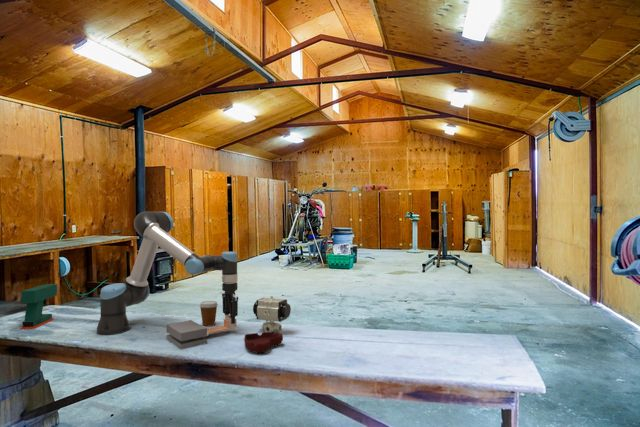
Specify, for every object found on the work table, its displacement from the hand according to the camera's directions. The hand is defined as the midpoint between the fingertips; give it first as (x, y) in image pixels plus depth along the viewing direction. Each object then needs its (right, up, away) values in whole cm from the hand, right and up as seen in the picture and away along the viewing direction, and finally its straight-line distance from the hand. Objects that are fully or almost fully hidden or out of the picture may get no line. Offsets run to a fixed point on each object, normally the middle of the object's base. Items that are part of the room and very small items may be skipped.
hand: (230, 328), depth 201 cm
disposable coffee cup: (-15, -2, +14) cm, 20 cm away
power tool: (-111, -3, +24) cm, 113 cm away
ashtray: (+19, -2, -24) cm, 30 cm away
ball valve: (+21, -2, -1) cm, 21 cm away
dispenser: (-17, -2, -14) cm, 22 cm away
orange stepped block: (-5, +1, -4) cm, 6 cm away
